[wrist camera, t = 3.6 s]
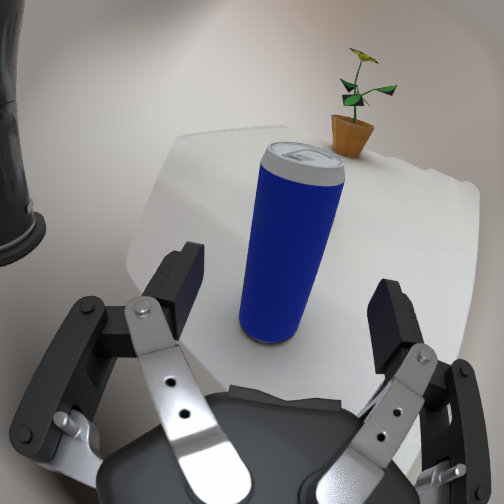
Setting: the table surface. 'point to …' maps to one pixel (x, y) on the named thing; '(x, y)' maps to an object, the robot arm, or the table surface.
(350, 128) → the potted plant
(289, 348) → the table surface
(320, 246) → the beverage can
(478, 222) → the table surface
